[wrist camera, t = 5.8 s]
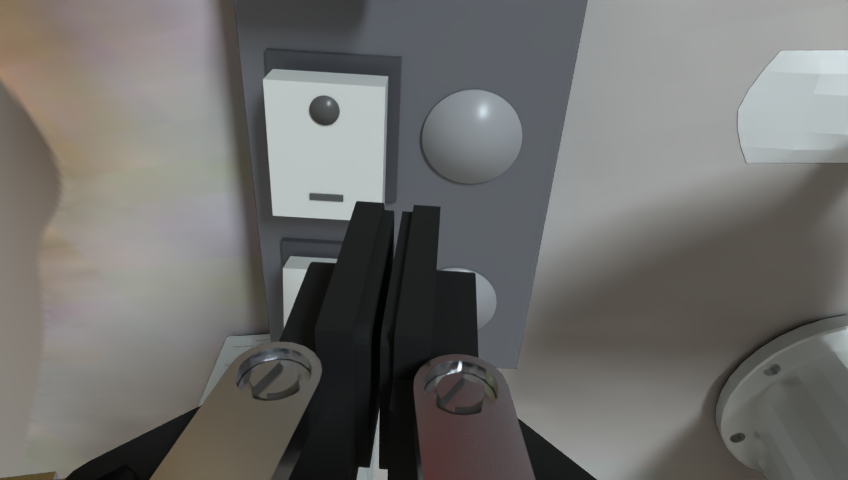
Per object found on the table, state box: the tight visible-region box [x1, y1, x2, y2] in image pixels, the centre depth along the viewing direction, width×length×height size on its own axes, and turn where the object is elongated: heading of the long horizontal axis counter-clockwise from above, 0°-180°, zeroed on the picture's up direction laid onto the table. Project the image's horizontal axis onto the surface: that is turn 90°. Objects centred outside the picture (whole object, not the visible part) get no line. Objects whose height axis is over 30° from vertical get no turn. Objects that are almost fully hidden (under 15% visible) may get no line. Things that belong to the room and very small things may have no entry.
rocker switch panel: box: [234, 0, 588, 369], centre depth 26 cm, size 30×12×4 cm, turn 177°
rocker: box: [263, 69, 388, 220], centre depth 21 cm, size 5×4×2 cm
